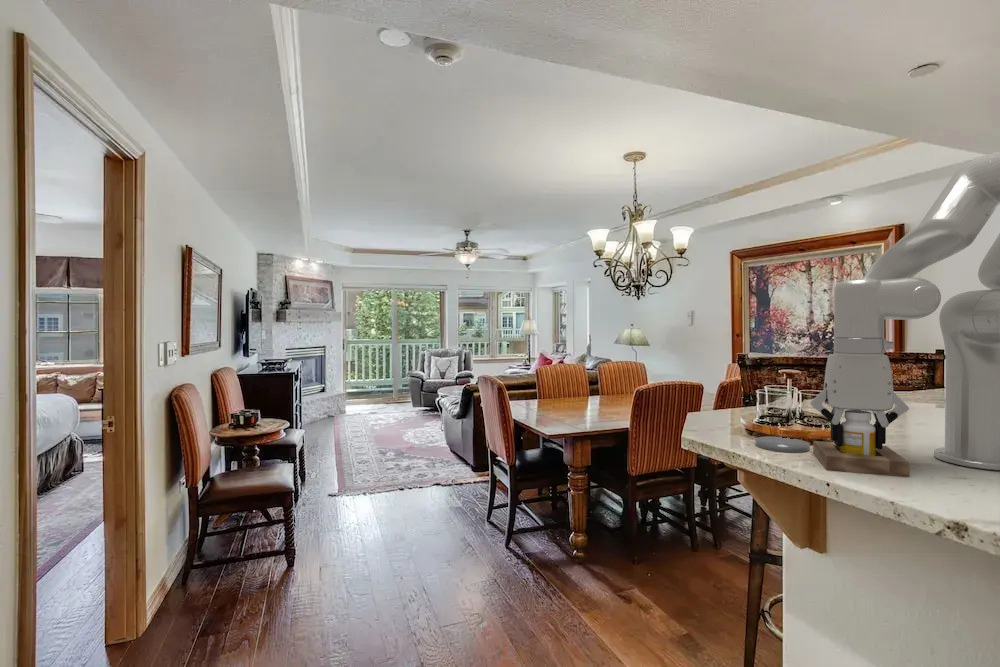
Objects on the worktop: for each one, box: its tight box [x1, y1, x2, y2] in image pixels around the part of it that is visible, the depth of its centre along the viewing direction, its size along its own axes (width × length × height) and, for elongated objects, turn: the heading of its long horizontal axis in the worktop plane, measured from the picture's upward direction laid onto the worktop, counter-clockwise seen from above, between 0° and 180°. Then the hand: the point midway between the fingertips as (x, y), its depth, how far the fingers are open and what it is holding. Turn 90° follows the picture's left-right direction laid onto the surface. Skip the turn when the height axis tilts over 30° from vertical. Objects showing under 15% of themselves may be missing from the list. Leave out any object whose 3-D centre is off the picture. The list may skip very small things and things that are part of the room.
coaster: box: [754, 435, 811, 454], centre depth 108 cm, size 10×10×1 cm
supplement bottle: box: [840, 410, 876, 456], centre depth 94 cm, size 5×5×10 cm
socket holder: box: [812, 440, 911, 478], centre depth 95 cm, size 12×12×2 cm
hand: (857, 445), depth 95 cm, fingers closed on supplement bottle, 5 cm apart
